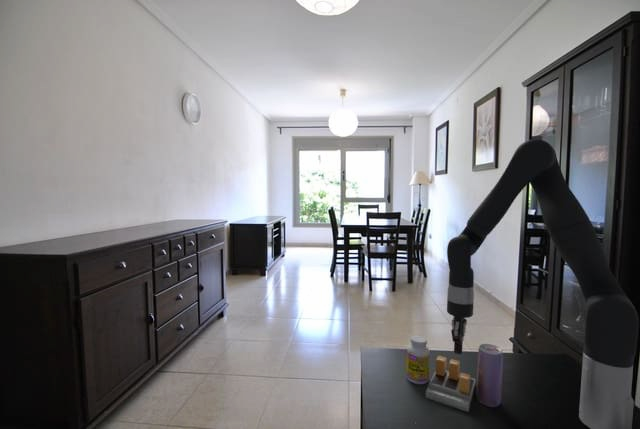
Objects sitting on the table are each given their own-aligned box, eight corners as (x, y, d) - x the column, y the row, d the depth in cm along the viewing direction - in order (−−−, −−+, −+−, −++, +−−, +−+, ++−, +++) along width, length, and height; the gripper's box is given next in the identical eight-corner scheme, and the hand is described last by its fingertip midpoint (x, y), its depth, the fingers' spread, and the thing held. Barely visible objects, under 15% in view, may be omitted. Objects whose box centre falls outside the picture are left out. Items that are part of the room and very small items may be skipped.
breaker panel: (475, 385, 97) (475, 374, 97) (468, 412, 85) (469, 400, 85) (436, 374, 103) (437, 364, 103) (425, 397, 91) (426, 386, 91)
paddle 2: (459, 375, 98) (459, 360, 97) (457, 380, 95) (458, 365, 95) (450, 373, 99) (451, 358, 99) (448, 377, 97) (449, 362, 96)
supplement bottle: (403, 381, 99) (405, 340, 98) (408, 370, 105) (409, 332, 104) (426, 387, 96) (428, 345, 95) (430, 376, 101) (431, 336, 100)
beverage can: (503, 409, 86) (506, 355, 85) (479, 406, 87) (482, 352, 86) (496, 395, 92) (498, 344, 91) (473, 392, 93) (476, 342, 92)
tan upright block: (470, 390, 90) (470, 374, 90) (468, 396, 88) (469, 379, 88) (460, 387, 92) (461, 371, 91) (458, 393, 89) (459, 376, 89)
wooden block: (446, 371, 100) (446, 357, 99) (444, 376, 97) (444, 361, 97) (437, 369, 101) (438, 354, 101) (435, 374, 99) (436, 359, 98)
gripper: (470, 307, 93) (468, 365, 95) (476, 295, 105) (473, 347, 106) (443, 302, 97) (441, 358, 99) (451, 291, 109) (449, 341, 110)
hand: (458, 352), depth 102 cm, fingers closed
